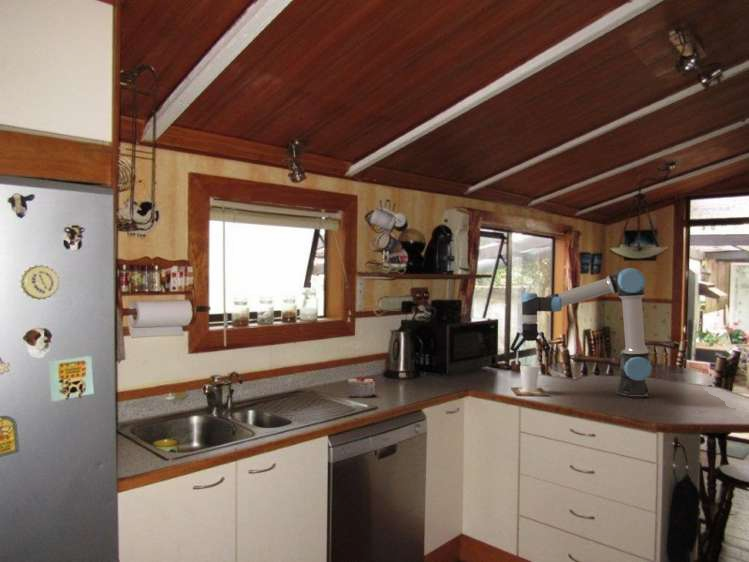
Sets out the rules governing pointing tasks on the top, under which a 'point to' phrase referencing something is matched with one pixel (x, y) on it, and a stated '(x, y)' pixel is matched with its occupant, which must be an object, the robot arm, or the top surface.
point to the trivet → (520, 392)
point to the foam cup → (529, 376)
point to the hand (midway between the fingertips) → (530, 363)
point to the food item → (360, 387)
